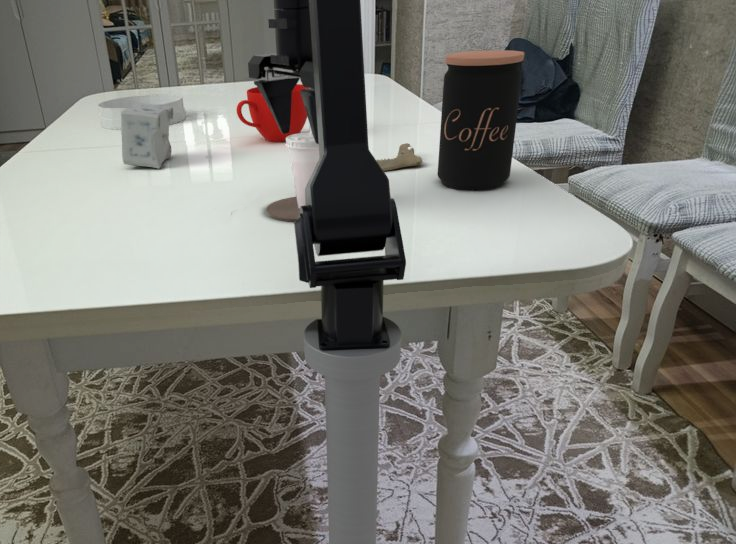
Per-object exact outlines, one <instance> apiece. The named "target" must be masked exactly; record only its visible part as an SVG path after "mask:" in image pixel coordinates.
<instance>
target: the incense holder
mask: <svg viewBox="0 0 736 544" xmlns="http://www.w3.org/2000/svg"><path fill="white" fill-rule="evenodd" d="M171 119H172V120H173V107H165V106H157V105H149V104H141V103H139V104H136V105H134V106H132V107H131V108H129V109H126V110H123V111H122V112H121V130H120V131H121V157H122V162H123V164H124V165H128V166H136V167H149V168H153V169H158V170H160V169H161V167H162V166H163V163H164V162H165V161H166V160H169V159H170V158H171V156H172V145H171V142H170V125H169V122H170V120H171Z"/></svg>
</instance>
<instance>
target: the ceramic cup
mask: <svg viewBox="0 0 736 544" xmlns="http://www.w3.org/2000/svg"><path fill="white" fill-rule="evenodd" d="M302 89H308V88H306V87H304V86H303V84H302V83H301V84H299V83H297V84H296V86H295V87H294V89H293V91H292V100H291V123H290V132H289V133H286V134H283V133H281V131H280V129H279V127H278V125H277V123H276V121H275V119H274V117H273V115H272V113H271V111H270V109H269V107H268V105H267V103H266V101H265V100H264V98H263V96H262V94H261V93H260V91H259V89H258V87H257V86H255V87H251V88H249V89H247V90H246V99H244V100H240V101H239V102H238V103H237V105H236V115H237V117H238V119H239V120H240V122H241V123H243V125H246V126H248V127H252V128H255V129H256V131H257V132H258V133H259V134H260V135H261V136H262V137H263V138H264V140H265V141H266V142H271V143H272V142H273V143H281V142H286V137H288V136H290V135H292V134H297V133H301V132H302V130H303V129H304V127H305V125H306V123H307V119H308V117H307V113H306V109H305V106H304V103H303V99H302V96H301V92H300V90H302ZM244 105H247V106H248V111H249V115H250V119H251V121H252V122H251V121H248V120H247V119H245V117H244V116H243V112H242V110H243V109H242V108H243V106H244Z"/></svg>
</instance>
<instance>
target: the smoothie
mask: <svg viewBox="0 0 736 544" xmlns="http://www.w3.org/2000/svg"><path fill="white" fill-rule="evenodd" d="M285 146H286V147H287V149H288V153H289V154H288V155H289V160H290V165H291V173H292V179H293V184H294V191H295V197H297V202H298V208H300V207H301V206H306V201H305V188H306V185H307V183H308V181H309V179H310V177H311V175H312V173H313V171H314V169H315V167H316V164H317V162H318V160H319V144H316V143H315V140H314V137H313V134H312V131H311V127H310V126H309V131H306V132H300V133H297V134H292V135H290V136H288V137H286V141H285Z"/></svg>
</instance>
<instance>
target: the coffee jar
mask: <svg viewBox="0 0 736 544" xmlns="http://www.w3.org/2000/svg"><path fill="white" fill-rule="evenodd" d="M524 59H525V51H520V50H513V49H512V50H508V49H505V50H504V49H489V50H488V49H487V50H469V51H459V52H453V53H449V54H447V55H446V56H445V64H446V65H447V71H446V72H445V73H444V76H443V85H442V86H443V87H442V100H441V116H440V129H439V130H440V131H439V145H438V147H439V148H438V160H437V161H438V163H437V177H438V179H439V181H440V182H441V184H442V185H443V186H445V187H447V188H450V189H454V190H459V191H461V190H462V191H488V190H494V189H497V188H500V187H502V186H504V185H505V184H506V182H507V181H508V180H509V178H510V176H511V168H512V161H513V153H514V145H515V137H516V129H517V121H518V112H519V103H520V96H521V88H522V87H521V86H522V81H523V79H522V78H523V71H522V69H521V67H520V65H521V63H522V62H523V61H524Z"/></svg>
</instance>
